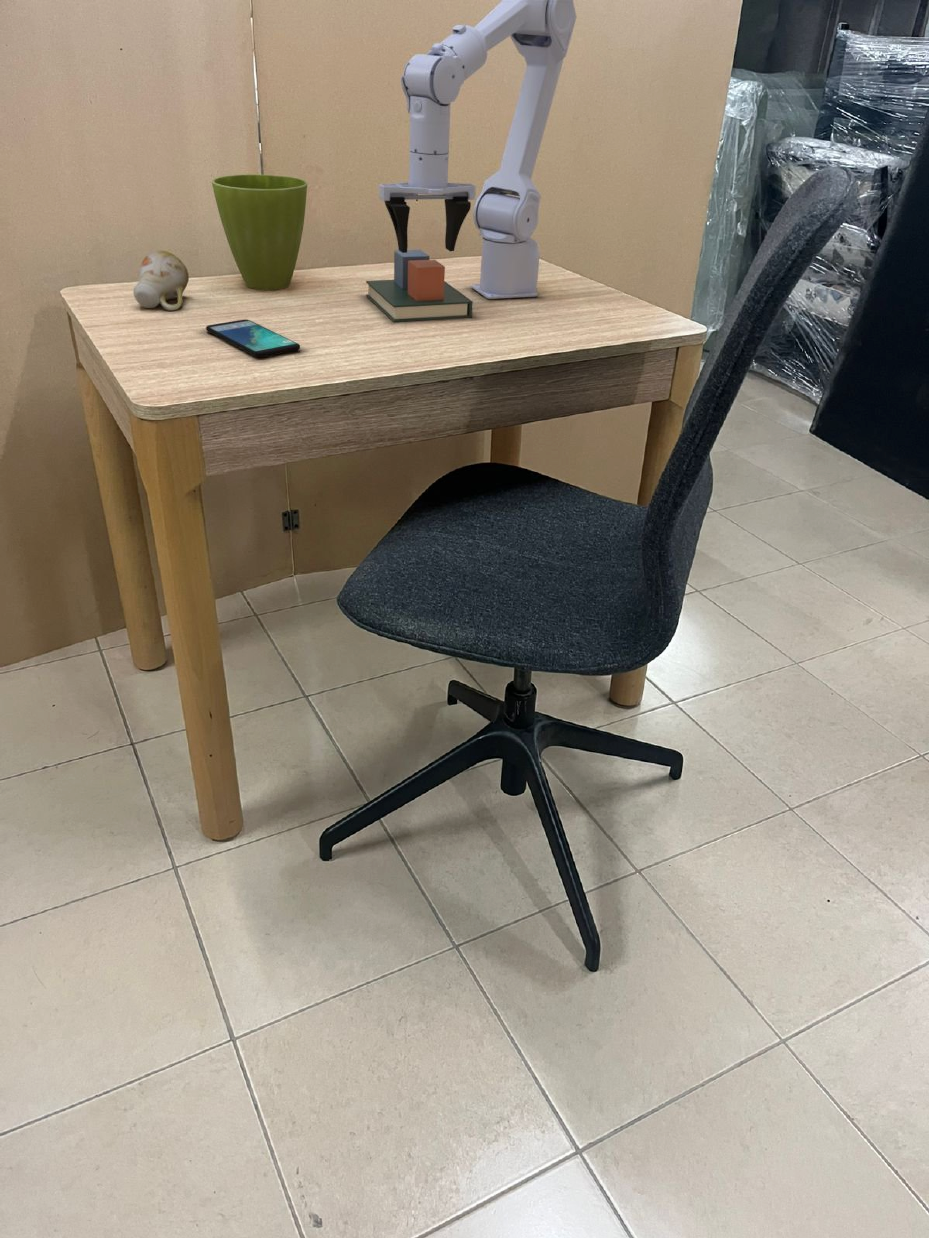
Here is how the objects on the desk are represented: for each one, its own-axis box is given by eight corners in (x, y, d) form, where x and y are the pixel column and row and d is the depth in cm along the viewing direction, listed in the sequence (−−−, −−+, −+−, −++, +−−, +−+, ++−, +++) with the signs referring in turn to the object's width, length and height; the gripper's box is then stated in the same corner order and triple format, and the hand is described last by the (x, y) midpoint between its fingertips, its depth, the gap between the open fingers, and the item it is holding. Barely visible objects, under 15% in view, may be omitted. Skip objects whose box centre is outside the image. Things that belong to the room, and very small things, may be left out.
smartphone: (247, 318, 134) (302, 345, 125) (247, 323, 134) (302, 350, 125) (203, 325, 130) (256, 353, 121) (203, 331, 130) (257, 359, 121)
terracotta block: (434, 292, 145) (435, 259, 142) (443, 299, 142) (445, 266, 139) (407, 293, 144) (407, 260, 141) (416, 301, 140) (417, 267, 137)
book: (439, 292, 155) (439, 277, 153) (471, 317, 143) (472, 301, 142) (366, 296, 150) (365, 280, 149) (393, 322, 139) (393, 305, 138)
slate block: (419, 281, 151) (420, 249, 148) (428, 288, 147) (429, 256, 144) (393, 282, 149) (394, 250, 146) (402, 289, 146) (402, 256, 143)
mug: (121, 311, 137) (116, 244, 136) (161, 325, 146) (157, 262, 145) (163, 304, 135) (157, 236, 134) (201, 319, 144) (196, 255, 143)
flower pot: (203, 282, 152) (192, 178, 143) (273, 269, 162) (266, 171, 153) (260, 301, 144) (251, 192, 136) (329, 287, 154) (326, 184, 145)
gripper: (389, 156, 126) (389, 258, 133) (485, 156, 131) (479, 255, 138) (375, 148, 131) (375, 247, 139) (467, 149, 136) (463, 244, 144)
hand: (426, 250), depth 139 cm, fingers open, 7 cm apart
